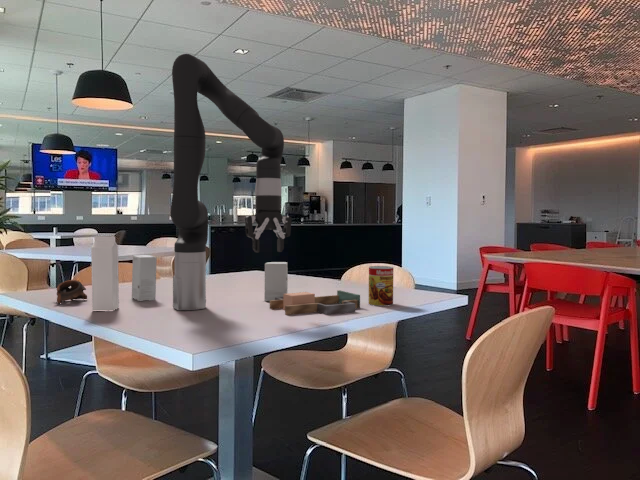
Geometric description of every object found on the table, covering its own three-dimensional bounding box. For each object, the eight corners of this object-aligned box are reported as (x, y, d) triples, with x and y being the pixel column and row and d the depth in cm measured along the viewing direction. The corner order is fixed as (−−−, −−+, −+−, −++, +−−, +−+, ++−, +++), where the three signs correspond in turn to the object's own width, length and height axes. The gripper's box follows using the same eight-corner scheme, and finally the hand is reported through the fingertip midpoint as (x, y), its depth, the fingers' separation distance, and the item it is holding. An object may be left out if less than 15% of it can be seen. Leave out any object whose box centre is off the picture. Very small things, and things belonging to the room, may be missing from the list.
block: (291, 312, 152) (291, 295, 151) (283, 310, 156) (283, 293, 156) (314, 310, 156) (314, 293, 156) (306, 307, 160) (306, 291, 160)
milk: (98, 308, 157) (97, 236, 157) (119, 308, 158) (118, 235, 157) (91, 311, 151) (90, 236, 151) (113, 311, 152) (112, 236, 151)
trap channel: (294, 317, 143) (294, 303, 143) (263, 306, 162) (263, 293, 162) (369, 310, 155) (369, 297, 155) (332, 300, 174) (332, 288, 174)
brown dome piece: (95, 302, 172) (90, 282, 168) (72, 318, 165) (65, 298, 161) (70, 290, 177) (65, 271, 172) (46, 306, 170) (40, 286, 165)
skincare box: (131, 298, 177) (130, 255, 176) (148, 297, 181) (148, 254, 180) (139, 301, 170) (138, 256, 170) (157, 300, 174) (157, 255, 173)
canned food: (381, 307, 161) (382, 268, 161) (363, 303, 167) (363, 266, 167) (398, 304, 167) (398, 267, 166) (379, 301, 172) (380, 265, 172)
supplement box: (286, 301, 171) (286, 263, 171) (263, 301, 172) (263, 263, 171) (288, 298, 179) (288, 261, 178) (266, 298, 179) (266, 261, 178)
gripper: (250, 193, 143) (250, 253, 144) (296, 194, 150) (296, 252, 151) (240, 194, 149) (240, 252, 150) (285, 195, 157) (285, 250, 157)
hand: (268, 251), depth 150 cm, fingers open, 6 cm apart
